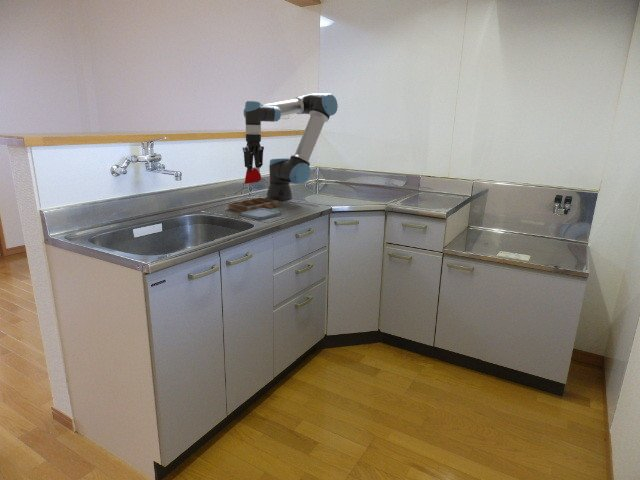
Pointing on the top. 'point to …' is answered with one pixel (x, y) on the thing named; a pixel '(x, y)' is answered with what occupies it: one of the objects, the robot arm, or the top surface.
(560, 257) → the top surface
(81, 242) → the top surface
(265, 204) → the frame
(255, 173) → the gemstone
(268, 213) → the tray
